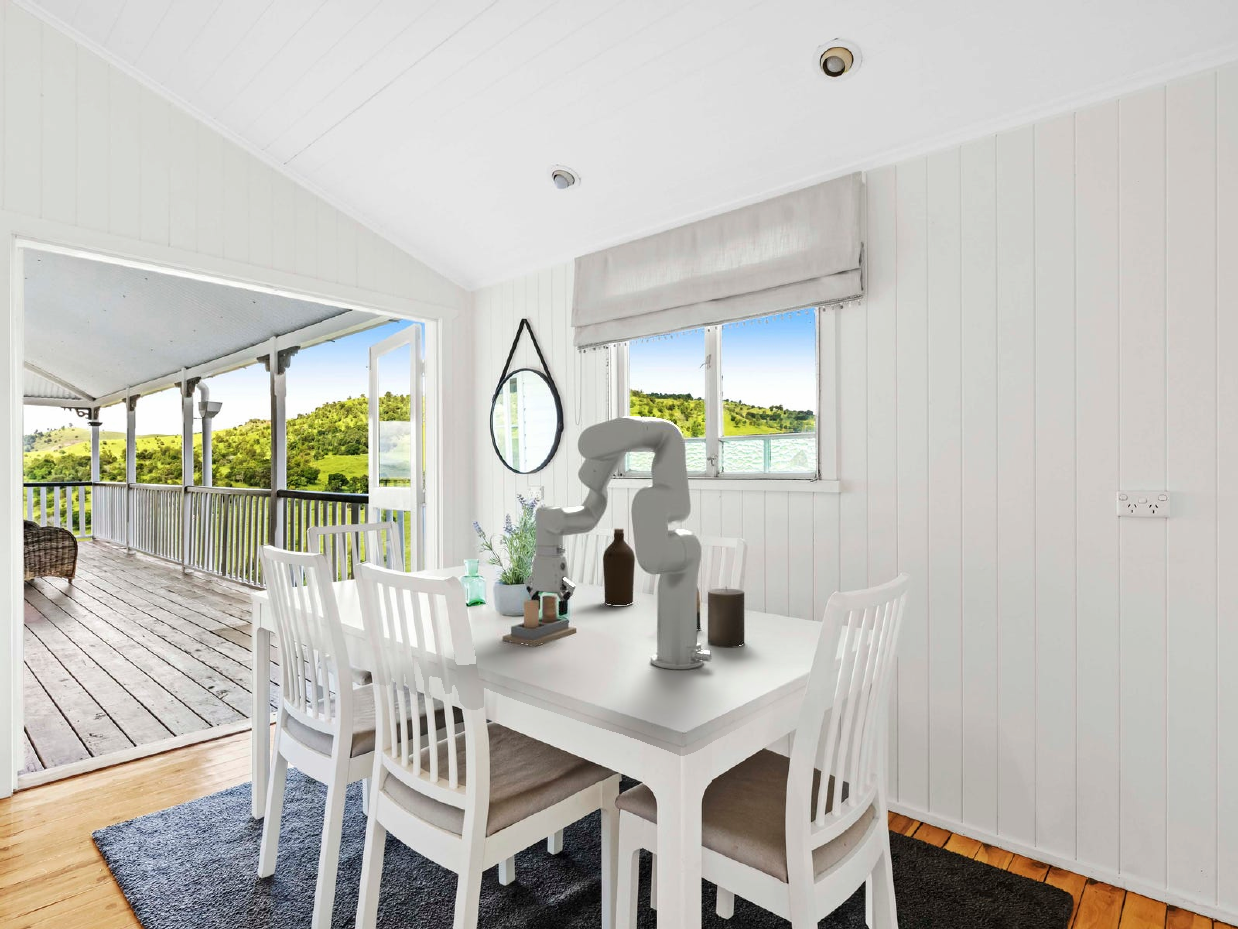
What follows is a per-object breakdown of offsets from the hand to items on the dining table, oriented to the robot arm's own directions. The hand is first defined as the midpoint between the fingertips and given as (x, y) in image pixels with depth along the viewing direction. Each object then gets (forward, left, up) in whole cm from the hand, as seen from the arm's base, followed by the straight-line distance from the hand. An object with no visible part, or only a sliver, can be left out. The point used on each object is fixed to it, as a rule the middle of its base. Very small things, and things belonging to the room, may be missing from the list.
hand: (549, 612), depth 198 cm
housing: (0, +4, -6) cm, 7 cm away
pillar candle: (-45, -18, -6) cm, 49 cm away
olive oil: (+6, -44, -6) cm, 45 cm away
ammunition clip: (-28, -25, -6) cm, 38 cm away
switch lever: (0, 0, -5) cm, 5 cm away
